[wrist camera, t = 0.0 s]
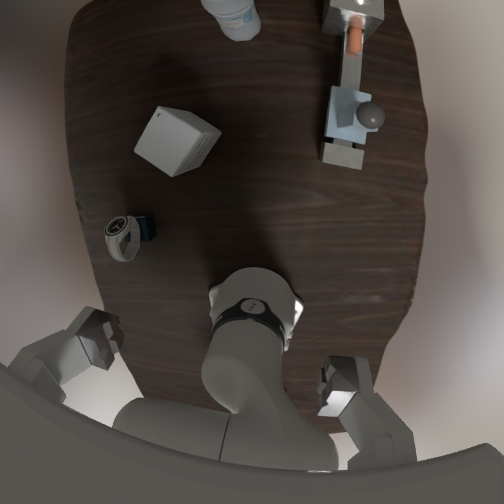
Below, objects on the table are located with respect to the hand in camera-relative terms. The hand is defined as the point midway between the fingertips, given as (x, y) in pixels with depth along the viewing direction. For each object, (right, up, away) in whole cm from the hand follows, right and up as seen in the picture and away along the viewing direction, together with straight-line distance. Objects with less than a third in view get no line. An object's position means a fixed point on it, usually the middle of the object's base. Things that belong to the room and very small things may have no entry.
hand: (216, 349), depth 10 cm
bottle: (0, +41, +25) cm, 48 cm away
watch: (-20, +9, +42) cm, 47 cm away
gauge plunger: (+17, +37, +21) cm, 46 cm away
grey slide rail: (+16, +32, +27) cm, 45 cm away
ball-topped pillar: (+16, +25, +29) cm, 41 cm away
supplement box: (-8, +23, +34) cm, 42 cm away
